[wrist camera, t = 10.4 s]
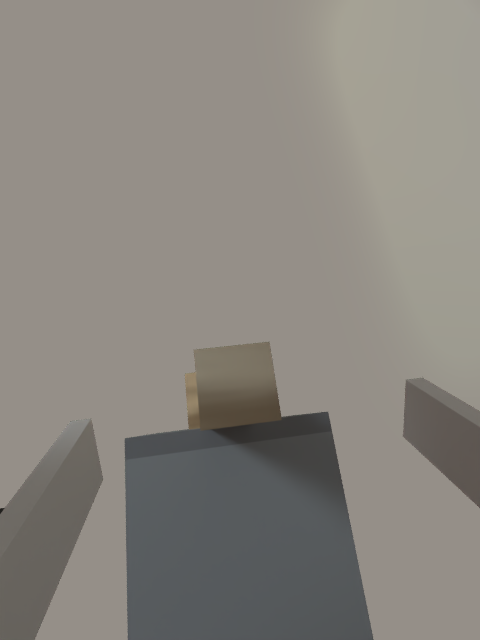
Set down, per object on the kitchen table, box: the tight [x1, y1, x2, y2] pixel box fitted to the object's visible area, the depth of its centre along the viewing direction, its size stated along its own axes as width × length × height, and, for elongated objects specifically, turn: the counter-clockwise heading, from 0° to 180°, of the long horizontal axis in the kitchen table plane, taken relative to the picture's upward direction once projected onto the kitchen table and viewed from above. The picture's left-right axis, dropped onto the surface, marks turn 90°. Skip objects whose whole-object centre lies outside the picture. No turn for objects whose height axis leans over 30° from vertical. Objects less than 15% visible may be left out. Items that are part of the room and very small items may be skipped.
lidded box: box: [125, 412, 373, 640], centre depth 26 cm, size 16×12×32 cm
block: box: [185, 342, 282, 431], centre depth 25 cm, size 23×7×5 cm, turn 4°
